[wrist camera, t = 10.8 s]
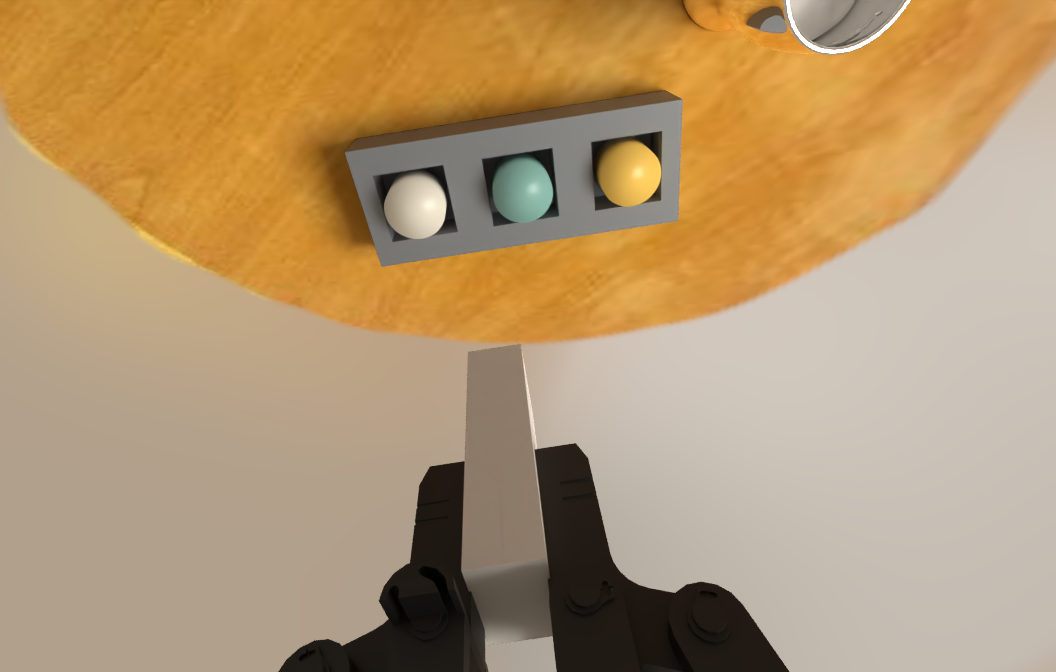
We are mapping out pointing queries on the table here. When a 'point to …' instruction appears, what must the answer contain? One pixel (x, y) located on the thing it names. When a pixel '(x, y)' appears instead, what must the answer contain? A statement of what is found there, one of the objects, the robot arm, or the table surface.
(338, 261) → the table surface
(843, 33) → the beer glass
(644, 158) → the button amber
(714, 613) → the robot arm
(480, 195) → the console
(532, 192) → the button teal
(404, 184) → the button ivory
